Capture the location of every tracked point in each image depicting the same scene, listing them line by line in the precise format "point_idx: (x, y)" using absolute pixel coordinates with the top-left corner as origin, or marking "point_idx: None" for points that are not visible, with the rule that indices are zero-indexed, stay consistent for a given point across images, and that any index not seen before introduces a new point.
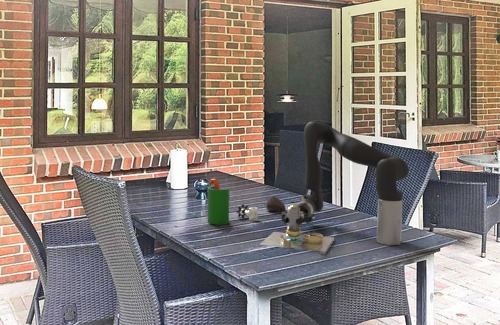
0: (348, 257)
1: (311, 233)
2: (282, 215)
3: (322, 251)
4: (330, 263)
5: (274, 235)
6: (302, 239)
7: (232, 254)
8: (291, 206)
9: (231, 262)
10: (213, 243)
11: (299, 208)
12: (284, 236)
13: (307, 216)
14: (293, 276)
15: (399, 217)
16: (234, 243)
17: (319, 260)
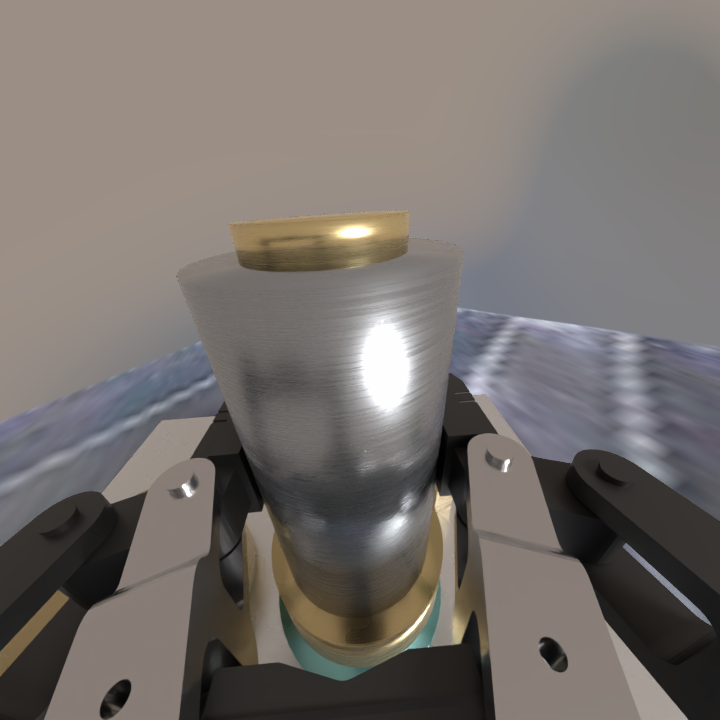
0: (58, 438)
1: None
2: (590, 459)
3: (173, 421)
4: (178, 373)
5: (621, 653)
6: (275, 616)
7: (495, 340)
8: (356, 212)
9: None
10: (695, 383)
11: (207, 263)
12: None
13: (68, 503)
14: None
15: None
16: (637, 412)
17: (211, 380)
